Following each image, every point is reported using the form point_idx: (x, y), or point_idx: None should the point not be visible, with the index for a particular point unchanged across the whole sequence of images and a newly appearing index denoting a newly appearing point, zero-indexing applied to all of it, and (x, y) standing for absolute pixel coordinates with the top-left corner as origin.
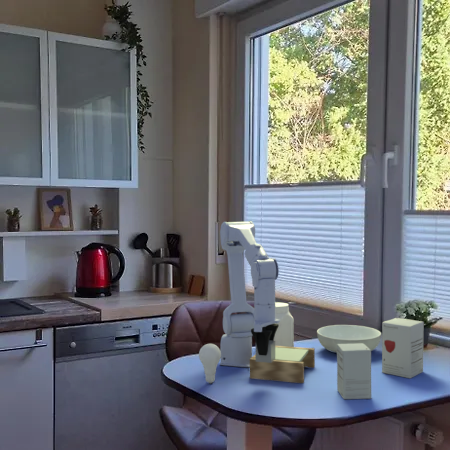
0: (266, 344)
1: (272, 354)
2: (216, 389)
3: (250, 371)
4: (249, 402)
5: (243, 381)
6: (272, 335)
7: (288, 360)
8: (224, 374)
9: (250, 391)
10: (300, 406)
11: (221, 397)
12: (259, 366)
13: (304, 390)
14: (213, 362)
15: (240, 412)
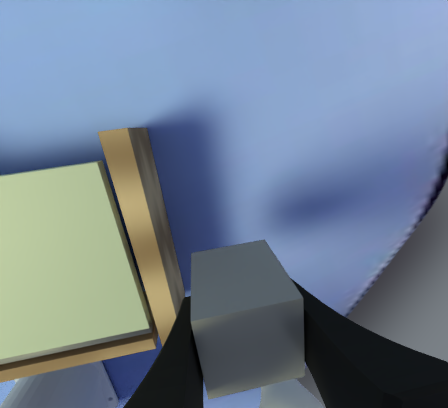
0: (335, 315)
1: (251, 261)
2: None
3: None
4: (371, 204)
5: None
6: (188, 375)
7: (112, 213)
8: None
9: (290, 240)
10: (373, 52)
11: (352, 276)
12: (176, 294)
13: (219, 94)
14: (309, 392)
15: (439, 192)
